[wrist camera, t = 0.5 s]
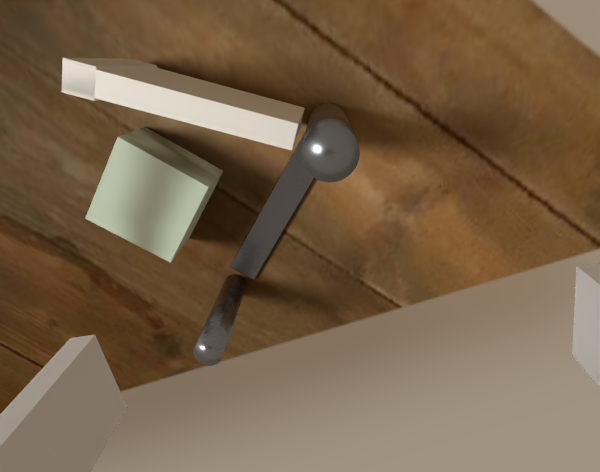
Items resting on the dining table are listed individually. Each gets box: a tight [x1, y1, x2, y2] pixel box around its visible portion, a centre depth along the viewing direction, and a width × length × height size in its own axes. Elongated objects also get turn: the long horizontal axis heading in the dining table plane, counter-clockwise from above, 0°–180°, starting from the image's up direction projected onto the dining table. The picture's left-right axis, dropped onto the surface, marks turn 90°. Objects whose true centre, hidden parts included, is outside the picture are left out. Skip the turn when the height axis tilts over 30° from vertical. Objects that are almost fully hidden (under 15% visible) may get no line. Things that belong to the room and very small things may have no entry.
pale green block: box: [85, 127, 223, 262], centre depth 33 cm, size 7×7×5 cm
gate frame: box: [193, 103, 360, 366], centre depth 30 cm, size 3×19×12 cm, turn 151°
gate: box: [62, 58, 305, 150], centre depth 27 cm, size 13×2×9 cm, turn 76°
